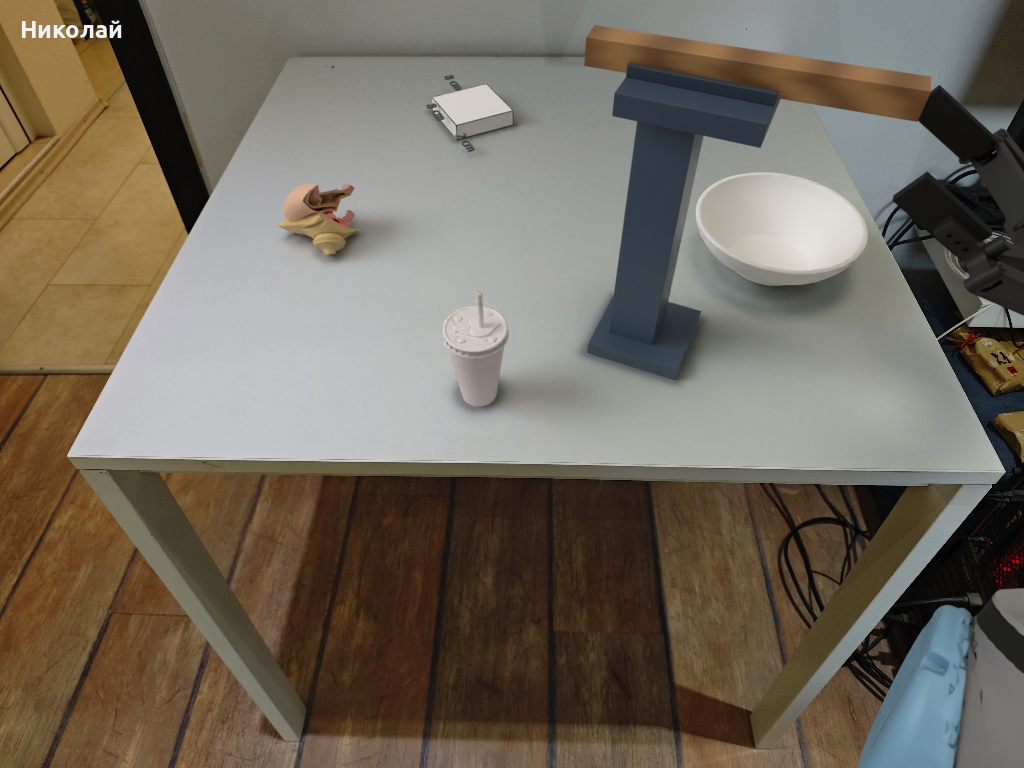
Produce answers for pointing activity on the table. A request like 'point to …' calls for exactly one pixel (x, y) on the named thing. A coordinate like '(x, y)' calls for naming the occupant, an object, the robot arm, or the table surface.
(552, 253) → the table surface
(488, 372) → the smoothie
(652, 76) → the lectern stand
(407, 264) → the table surface
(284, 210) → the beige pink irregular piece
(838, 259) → the bowl
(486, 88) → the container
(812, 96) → the stirring stick
